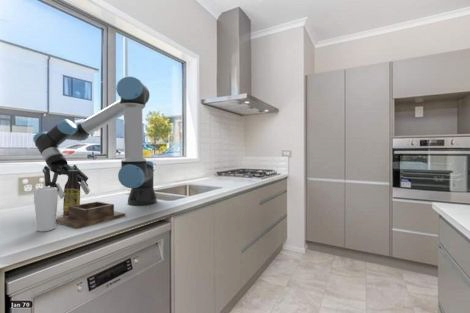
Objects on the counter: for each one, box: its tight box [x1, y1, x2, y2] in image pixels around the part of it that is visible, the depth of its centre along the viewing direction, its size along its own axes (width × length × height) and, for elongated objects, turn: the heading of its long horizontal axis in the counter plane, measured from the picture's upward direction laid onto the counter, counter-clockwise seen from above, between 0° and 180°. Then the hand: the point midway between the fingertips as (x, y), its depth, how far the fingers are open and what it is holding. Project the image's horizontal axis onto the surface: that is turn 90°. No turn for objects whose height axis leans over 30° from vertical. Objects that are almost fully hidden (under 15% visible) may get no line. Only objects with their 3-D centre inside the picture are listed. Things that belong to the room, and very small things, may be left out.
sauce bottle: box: [62, 170, 81, 216], centre depth 109 cm, size 6×6×20 cm
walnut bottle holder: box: [56, 201, 126, 229], centre depth 101 cm, size 20×16×6 cm
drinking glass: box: [33, 186, 59, 232], centre depth 87 cm, size 7×7×15 cm
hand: (76, 194), depth 107 cm, fingers open, 10 cm apart
